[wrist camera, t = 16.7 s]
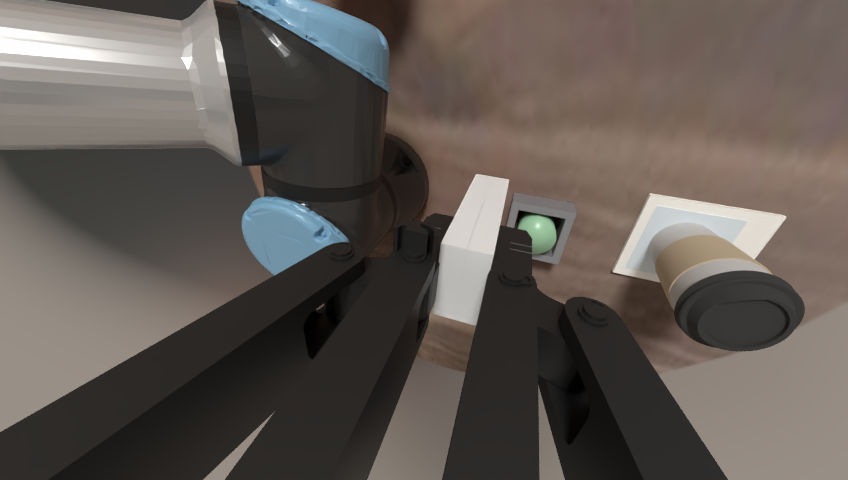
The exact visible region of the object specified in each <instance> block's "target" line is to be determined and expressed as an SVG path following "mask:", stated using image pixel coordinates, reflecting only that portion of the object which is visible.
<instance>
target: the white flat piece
mask: <svg viewBox="0 0 848 480" xmlns="http://www.w3.org/2000/svg"><path fill="white" fill-rule="evenodd" d="M785 219H786V216H784V215H780V214H774V213H768V212H762V211H756V210H750V209H744V208H737V207H731V206H725V205H719V204H713V203H707V202H701V201H695V200H688V199H682V198H676V197H670V196H664V195H658V194H652V193H649V194H648V196H647V198H646V200H645V202H644V204H643V206H642V209H641V211H640V213H639V215H638V217H637V219H636V221H635V223H634V225H633V227H632V229H631V231H630V233H629V235H628V237H627V239H626V241H625V244H624V246H623V248H622V250H621V252H620V254H619V256H618V258H617V260H616V262H615V264H614V266H613V268H612V272H614V273H619V274H623V275H628V276H632V277H637V278H642V279H646V280H651V281H655V282H660V280H659V278H658V276H657V273H656V270H655V265H654V263H653V261H652V258H651V256H650V253H649V244H650V242H651V240H652V238H653V237H654V236H655V235H656V234H657V233H658V232H659V231H660V230H662V229H664V228H665V227H668V226H670V225H673V224H677V223H683V222H692V223H698V224H701V225H703V226H705V227H707V228H708V229H710V230H711V231H713V232H714V233H715V234H717V235H718V236H719V237H721V238H723V239H725V240H727V241H729V242H730V243H732V244H733V245H734V246H736V247H737V248H739V249H740V250H742V251H743V252H744V253H746V254H747V255H749V256H750V257H751V258H753V259H755V258H756V257H757V255H758V254H759V253H760V251H761V250H762V249H763V247H764V246H765V245H766V244H767V242H768V241H769V240H770V238H771V237H772V236H773V234H774V233H775V232H776V230H777V229H778V228H779V227H780V225H781V224H782V223H783V221H784V220H785Z"/></svg>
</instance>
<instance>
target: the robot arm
mask: <svg viewBox="0 0 848 480" xmlns="http://www.w3.org/2000/svg"><path fill="white" fill-rule="evenodd" d="M235 1H237V2H238V4H230V3H224V2H219V1H213V0H206V1H205V2H204V3H203V4H202V5H201V6H200V7H199V9H197V10H196V11H195V12H194V13H193V15H191V16H190V17H189V18H187V19H185V20H183V21H179V20H172V19H165V18H159V17H152V16H145V15H138V14H131V13H125V12H119V11H111V10H105V9H99V8H92V7H85V6H78V5H71V4H65V3H58V2H52V1H45V0H0V150H4V149H6V150H7V149H109V148H203V147H204V148H205V147H206V148H210V149H213V150H215V151H217V152H219V153H220V154H221V155H223V156H224V157H226V158H227V159H229V160H230V161H231V162H233V163H234V164H235V165H237V166H255V165H259V166H260V165H261V172H262V180H263V187H264V197H261V198H258V199H256V200H254V201H253V202H252V203H251V206H250V207H249V209H248V210H246V211H245V213H244V215H243V218H242V231H243V235H244V238H245V241H246V243H247V245H248V247H249V249H250V250H251V252H252V253H253V255H254V256H255V257H256V259H257V260H258V261H259V262H260V263H261V264H262V265H263V266H264V267H265V268H266V269H268V270H269V271H270V272H271V273H272V274H273V275H274V276H273V277H271V278H269V279H268V280H266V281H264V282H262V283H261V284H259V285H257V286H255V287H254V288H252V289H250V290H248V291H247V292H245V293H243V294H241V295H240V296H238V297H236V298H234V299H233V300H231V301H229V302H227V303H226V304H224V305H222V306H220V307H219V308H217V309H215V310H213V311H212V312H210V313H208V314H206V315H205V316H203V317H201V318H199V319H198V320H196V321H194V322H192V323H191V324H189V325H187V326H185V327H184V328H182V329H180V330H178V331H177V332H175V333H173V334H171V335H170V336H168V337H166V338H164V339H163V340H161V341H159V342H157V343H156V344H154V345H152V346H150V347H149V348H147V349H145V350H143V351H142V352H140V353H138V354H137V355H135V356H133V357H131V358H129V359H128V360H126V361H124V362H122V363H121V364H119V365H117V366H115V367H114V368H112V369H110V370H108V371H107V372H105V373H103V374H101V375H100V376H98V377H96V378H94V379H93V380H91V381H89V382H87V383H86V384H84V385H82V386H80V387H79V388H77V389H75V390H73V391H72V392H70V393H68V394H66V395H65V396H63V397H61V398H59V399H58V400H56V401H54V402H52V403H51V404H49V405H47V406H45V407H44V408H42V409H40V410H38V411H37V412H35V413H33V414H31V415H30V416H28V417H26V418H24V419H23V420H21V421H19V422H17V423H16V424H14V425H12V426H10V427H9V428H7V429H5V430H4V431H2V432H0V480H203V479H204V478H205V477H206V476H207V475H208V474H209V473H210V472H211V471H212V470H214V469H215V468H216V467H217V466H218V465H219V464H220V463H221V462H222V461H223V460H224V459H225V458H226V457H227V456H228V455H229V454H230V453H231V452H232V451H234V450H235V448H237V447H238V446H239V445H240V444H241V443H242V442H243V441H244V440H245V439H246V438H247V437H248V436H249V435H250V434H251V433H252V432H253V431H254V430H256V429H257V428H258V427H259V426H260V425H261V424H262V423H263V422H264V421H265V420H266V419H267V418H268V417H269V416H270V415H271V414H272V413H273V412H274V411H275V412H274V414H273V415H272V416H271V418H270V419H269V420H268V422H267V423H266V424H265V426H264V427H263V428H262V430H261V431H260V432H259V434H258V435H257V437H256V438H255V439H254V441H253V442H252V444H251V445H250V446H249V447H248V449H247V450H246V452H245V453H244V454H243V456H242V457H241V458H240V460H239V461H238V462H237V464H236V465H235V466H234V468H233V469H232V471H231V472H230V473H229V475H228V476H227V477H226V479H225V480H367V479H368V476H369V474H370V471H371V468H372V466H373V463H374V461H375V458H376V456H377V453H378V451H379V448H380V446H381V443H382V441H383V438H384V435H385V433H386V431H387V428H388V425H389V423H390V420H391V418H392V415H393V413H394V410H395V408H396V405H397V403H398V400H399V398H400V395H401V392H402V390H403V387H404V385H405V382H406V380H407V377H408V375H409V372H410V370H411V367H412V365H413V362H414V360H415V357H416V355H417V352H418V350H419V347H420V345H421V342H422V340H423V337H424V334H425V332H426V329H427V327H428V322H429V314H430V311H431V309H432V306H433V312H432V314H435V315H439V316H443V317H446V318H450V319H454V320H457V321H461V322H464V323H468V324H472V325H475V326H476V329H475V333H474V338H473V342H472V346H471V351H470V356H469V360H468V365H467V369H466V374H465V379H464V383H463V388H462V392H461V397H460V401H459V406H458V410H457V415H456V419H455V424H454V428H453V433H452V437H451V442H450V446H449V451H448V455H447V460H446V464H445V469H444V474H443V478H442V480H539V427H538V426H539V419H538V418H539V417H538V385H539V388H540V392H541V396H542V399H543V403H544V406H545V410H546V413H547V417H548V421H549V424H550V428H551V431H552V435H553V439H554V442H555V446H556V449H557V453H558V456H559V460H560V463H561V467H562V470H563V474H564V477H565V480H728V479H727V478H726V476H725V475H724V473H723V472H722V470H721V469H720V467H719V466H718V464H717V462H716V461H715V459H714V458H713V457H712V455H711V454H710V452H709V450H708V449H707V447H706V446H705V444H704V443H703V441H702V440H701V439H700V437H699V436H698V434H697V432H696V431H695V429H694V428H693V426H692V425H691V423H690V422H689V420H688V419H687V418H686V416H685V414H684V413H683V411H682V410H681V409H680V407H679V405H678V404H677V402H676V401H675V399H674V398H673V396H672V395H671V393H670V392H669V390H668V389H667V387H666V386H665V384H664V383H663V381H662V380H661V378H660V377H659V375H658V374H657V372H656V371H655V369H654V368H653V366H652V365H651V363H650V362H649V360H648V359H647V357H646V356H645V354H644V353H643V351H642V350H641V348H640V347H639V345H638V344H637V342H636V341H635V339H634V338H633V336H632V334H631V333H630V331H629V330H628V328H627V327H626V325H625V324H624V322H623V321H622V319H621V318H620V317H619V316H618V315H617V314H616V312H615V311H614V310H612V309H611V308H609V307H608V306H607V305H605V304H603V303H601V302H599V301H597V300H594V299H590V298H586V297H573V298H571V299H569V300H567V302H566V304H562V303H560V302H558V301H556V300H554V299H552V298H550V297H548V296H546V295H545V294H543V293H542V292H541V291H539V289H538V288H537V284H536V281H535V279H534V277H533V276H532V238H531V236H530V235H529V233H528V232H527V231H526V230H521V229H516V228H511V227H506V226H501V225H500V222H501V218H502V213H503V208H504V203H505V198H506V193H507V188H508V183H509V179H503V178H497V177H491V176H485V175H479V174H476V176H475V177H474V179H473V181H472V183H471V185H470V187H469V189H468V191H467V193H466V195H465V197H464V199H463V201H462V203H461V205H460V207H459V209H458V211H457V213H456V215H455V217H452V216H447V215H442V214H437V213H434V214H432V215H430V216H428V217H426V219H425V220H424V222H421V221H413V220H414V219H415V218H416V216H417V215H418V214H419V213H420V211H421V210H422V208H423V207H424V205H425V203H426V200H427V196H428V189H429V183H428V176H427V172H426V169H425V166H424V164H423V162H422V160H421V159H420V157H419V156H418V154H417V153H416V152H415V150H414V149H413V148H412V147H411V146H410V145H408V144H407V143H406V142H405V141H403V140H402V139H400V138H398V137H396V136H394V135H391V134H388V133H385V126H386V114H387V103H388V93H390V87H389V85H388V80H389V46H388V43H387V40H386V38H385V36H384V35H383V34H382V33H381V31H380V30H379V29H377V28H376V27H375V26H373V25H371V24H369V23H367V22H365V21H363V20H361V19H359V18H356V17H354V16H351V15H349V14H347V13H344V12H342V11H339V10H336V9H334V8H331V7H328V6H326V5H323V4H320V3H317V2H314V1H312V0H235ZM393 230H394V240H393V252H392V253H391V255H390V256H389V257H386V258H370V257H368V256H369V254H370V253H371V252H372V251H373V250H374V248H375V247H376V246H377V245H378V244H379V243H380V241H381V240H382V239H383V238H384V237H385V235H386V234H387V233H388V232H390V231H393ZM323 303H324V306H323V307H322V308H321V309H319V310H317V311H316V309H317V308H318V307H319V306H320V305H322V304H323Z"/></svg>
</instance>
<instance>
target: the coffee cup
mask: <svg viewBox="0 0 848 480" xmlns="http://www.w3.org/2000/svg"><path fill="white" fill-rule="evenodd" d="M649 253H650V256H651V258H652V261H653V263H654V265H655V270H656V273H657V276H658V278H659V280H660V283H661V285H662V287H663V290H664V292H665V294H666V297H667V299H668V301H669V304H670V306H671V308H672V309H673V310H674V316H675V320H676V322H677V324H678V326H679V327H680V328H681V329H682V330H683V331H684V332H685V334H686V335H688V336H689V337H690V338H691V339H693V340H695V341H697V342H699V343H701V344H704V345H707V346H711V347H715V348H720V349H724V350H729V351H753V350H759V349H764V348H767V347H770V346H773V345H775V344H777V343H779V342H781V341H783V340H784V339H786V338H787V337H788V336H789V335H790V334H791V333H792V332H793V331H794V329H796V327H797V326H798V325H799V324H800V322H801V321H802V318H803V316H804V312H805V307H804V303H803V300H802V299H801V297H800V296H799V295H798V294H797V293H796V292H795V290H794V289H793V287H792V286H791V285H790V284H789V283H787V282H786V281H784V280H783V279H781V278H779V277H777V276H774V275H773V274H772V273H771V272H770V271H769V270H768V269H767V268H766V267H764V266H763V265H761V264H760V263H758V262H757V261H756V260H754V259H753V258H751V257H750V256H749V255H747V254H746V253H744V252H743V251H742V250H740V249H739V248H737V247H736V246H734V245H733V244H732V243H730V242H729V241H727V240H725V239H723V238H721V237H719V236H718V235H717V234H715V233H714V232H713V231H711V230H710V229H708V228H707V227H705V226H703V225H701V224H698V223H692V222H683V223H677V224H673V225H670V226H668V227H665V228H664V229H662V230H660V231H659V232H658V233H657V234H656V235H655V236H654V237H653V238H652V240H651V242H650V244H649Z"/></svg>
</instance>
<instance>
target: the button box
mask: <svg viewBox="0 0 848 480" xmlns="http://www.w3.org/2000/svg"><path fill="white" fill-rule="evenodd" d="M518 210H522V211H527V212H532V213H538V214H543V215H548V216H554V217H559V218H560V221H559V224H558V227H557V230H556V242H555V244H554V246H553V247H552V248H551V249H550V250H549V251H547V252H545V253H541V254H532V259H534V260H539V261H544V262H548V263H553V264H557V265H558V263H559V260H560V258H561V255H562V252H563V249H564V247H565V244H566V241H567V239H568V236H569V233H570V231H571V228H572V225H573V222H574V220H575V217H576V214H577V212H576V209H575V205H574V203H571V202H565V201H560V200H554V199H549V198H543V197H537V196H532V195H526V194H520V193H515V192H514V195H513V199H512V203H511V207H510V211H509V215H508V219H507V224H506V227H511V228H514V226H515V222H516V218H517V214H518Z"/></svg>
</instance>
